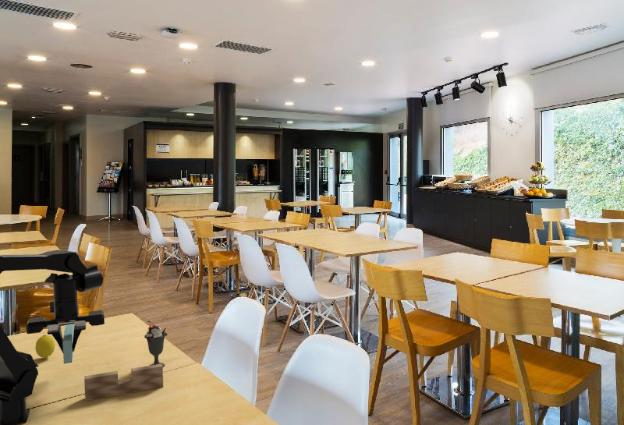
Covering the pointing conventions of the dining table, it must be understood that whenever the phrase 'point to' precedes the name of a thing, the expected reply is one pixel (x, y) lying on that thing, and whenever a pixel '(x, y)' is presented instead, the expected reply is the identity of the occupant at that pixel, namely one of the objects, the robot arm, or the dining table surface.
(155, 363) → the sundae
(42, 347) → the lemon
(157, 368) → the walnut slotted plate
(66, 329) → the teal slotted plate
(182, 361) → the dining table surface
